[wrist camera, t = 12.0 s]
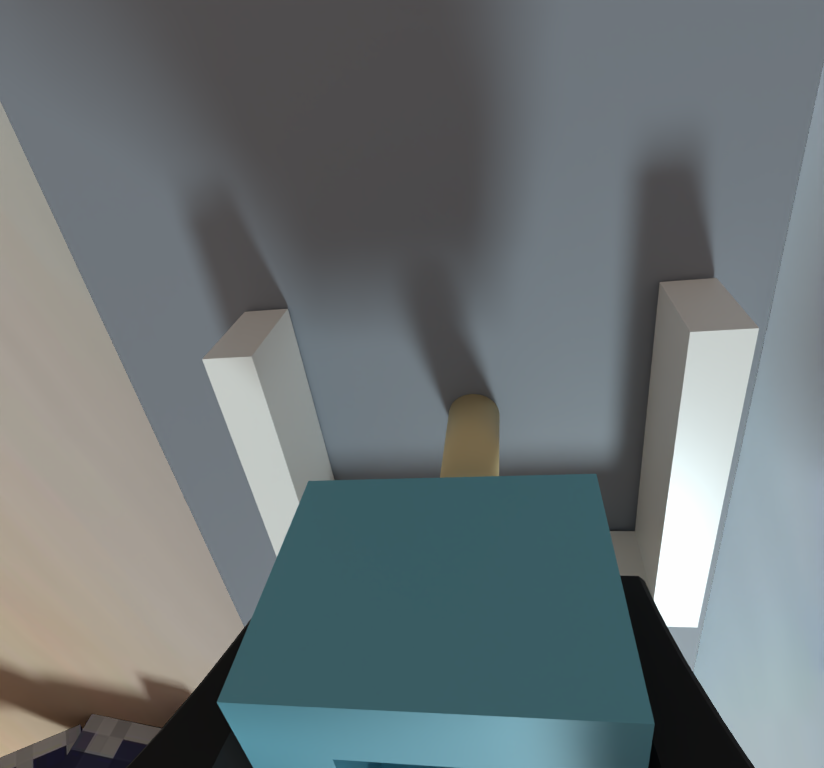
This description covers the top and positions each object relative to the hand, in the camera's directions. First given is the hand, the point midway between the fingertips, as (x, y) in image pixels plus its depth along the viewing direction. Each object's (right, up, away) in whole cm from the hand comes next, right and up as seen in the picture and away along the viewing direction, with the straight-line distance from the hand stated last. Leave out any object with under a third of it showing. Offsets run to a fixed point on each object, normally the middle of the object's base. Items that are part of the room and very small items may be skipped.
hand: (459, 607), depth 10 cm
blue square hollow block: (0, 0, +1) cm, 1 cm away
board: (0, +1, +8) cm, 8 cm away
